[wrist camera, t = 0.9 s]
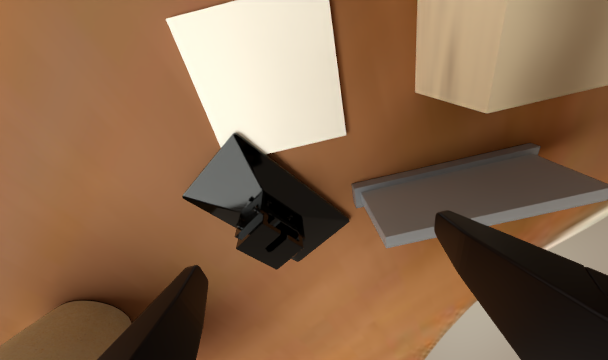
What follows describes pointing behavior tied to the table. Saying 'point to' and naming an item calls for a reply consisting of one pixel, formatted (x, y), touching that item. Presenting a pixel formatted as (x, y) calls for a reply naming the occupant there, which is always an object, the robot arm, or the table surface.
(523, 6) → the letter block
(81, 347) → the plant pot
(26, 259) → the table surface
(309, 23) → the reading pad
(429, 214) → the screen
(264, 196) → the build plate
